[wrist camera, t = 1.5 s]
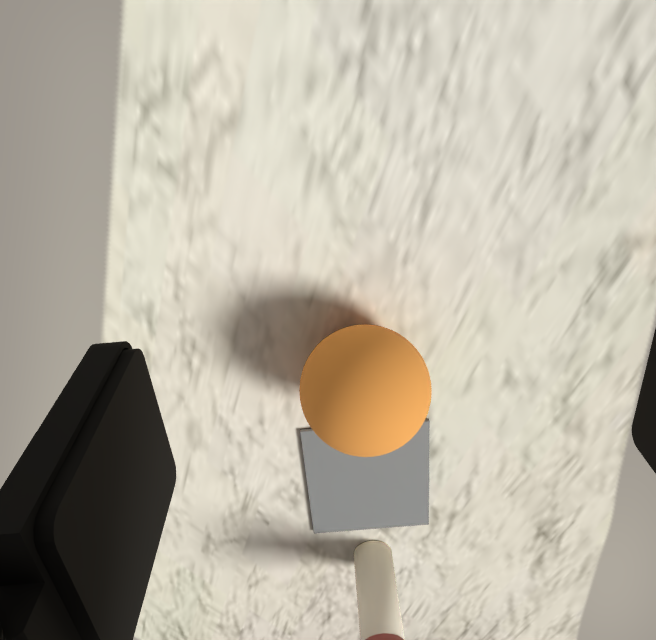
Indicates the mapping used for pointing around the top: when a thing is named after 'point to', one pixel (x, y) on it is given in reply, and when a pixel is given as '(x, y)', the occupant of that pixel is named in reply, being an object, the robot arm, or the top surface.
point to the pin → (377, 593)
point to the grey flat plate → (367, 485)
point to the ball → (365, 390)
